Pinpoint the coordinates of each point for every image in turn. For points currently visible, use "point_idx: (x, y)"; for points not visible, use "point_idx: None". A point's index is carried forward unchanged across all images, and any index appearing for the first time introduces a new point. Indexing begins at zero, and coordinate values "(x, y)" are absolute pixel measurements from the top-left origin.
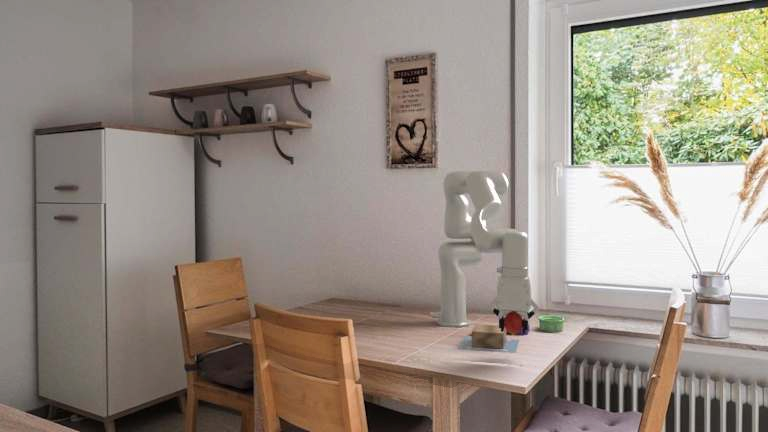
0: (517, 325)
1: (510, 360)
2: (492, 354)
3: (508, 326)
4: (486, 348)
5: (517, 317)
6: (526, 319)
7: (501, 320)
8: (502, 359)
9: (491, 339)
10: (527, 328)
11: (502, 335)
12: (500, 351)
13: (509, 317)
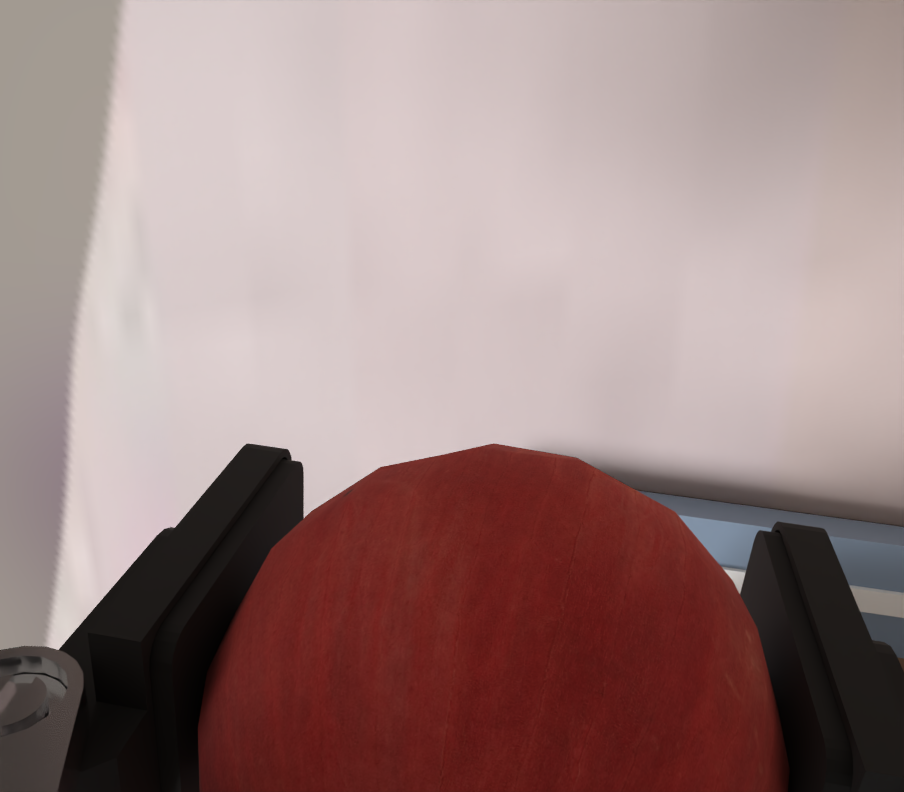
0: (369, 496)
1: (589, 228)
2: (825, 478)
3: (646, 509)
4: (898, 634)
5: (305, 744)
6: (40, 688)
7: (899, 732)
8: (705, 260)
9: None
10: (157, 537)
11: None
12: (712, 520)
13: (619, 761)
